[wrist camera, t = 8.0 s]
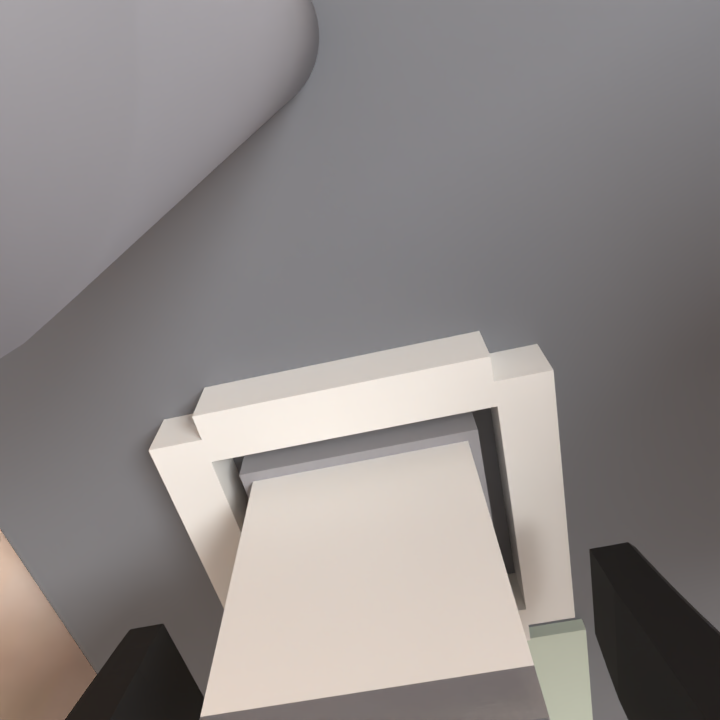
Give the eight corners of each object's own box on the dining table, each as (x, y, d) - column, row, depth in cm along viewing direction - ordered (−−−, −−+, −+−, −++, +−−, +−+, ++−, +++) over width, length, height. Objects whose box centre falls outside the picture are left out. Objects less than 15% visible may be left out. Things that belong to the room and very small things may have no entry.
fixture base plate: (800, -287, 8) (929, -381, 6) (715, 753, 19) (752, 827, 17) (-275, 21, 9) (-420, 17, 8) (224, 821, 20) (212, 895, 19)
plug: (468, 399, 12) (568, 702, 6) (495, 563, 14) (588, 898, 8) (247, 443, 12) (164, 762, 7) (305, 595, 14) (277, 935, 9)
